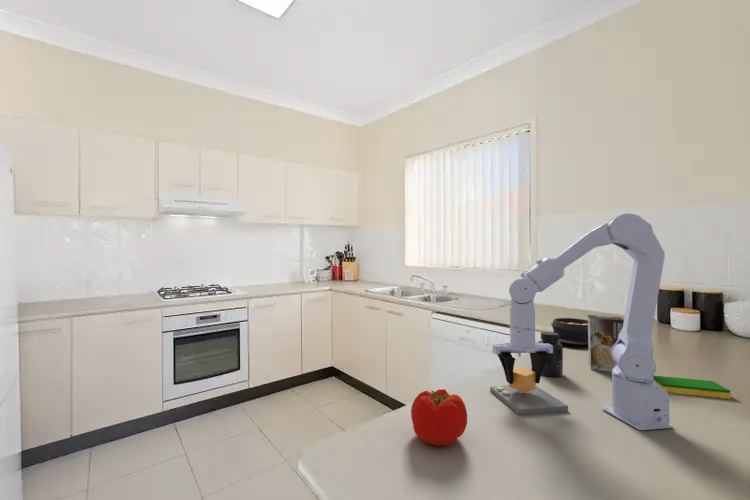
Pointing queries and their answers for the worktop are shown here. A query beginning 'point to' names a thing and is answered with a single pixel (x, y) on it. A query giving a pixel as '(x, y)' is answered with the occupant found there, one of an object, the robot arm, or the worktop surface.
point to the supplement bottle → (553, 355)
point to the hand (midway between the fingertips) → (522, 382)
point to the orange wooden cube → (523, 380)
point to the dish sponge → (692, 387)
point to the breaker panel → (528, 400)
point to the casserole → (571, 330)
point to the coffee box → (602, 341)
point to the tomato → (438, 417)
